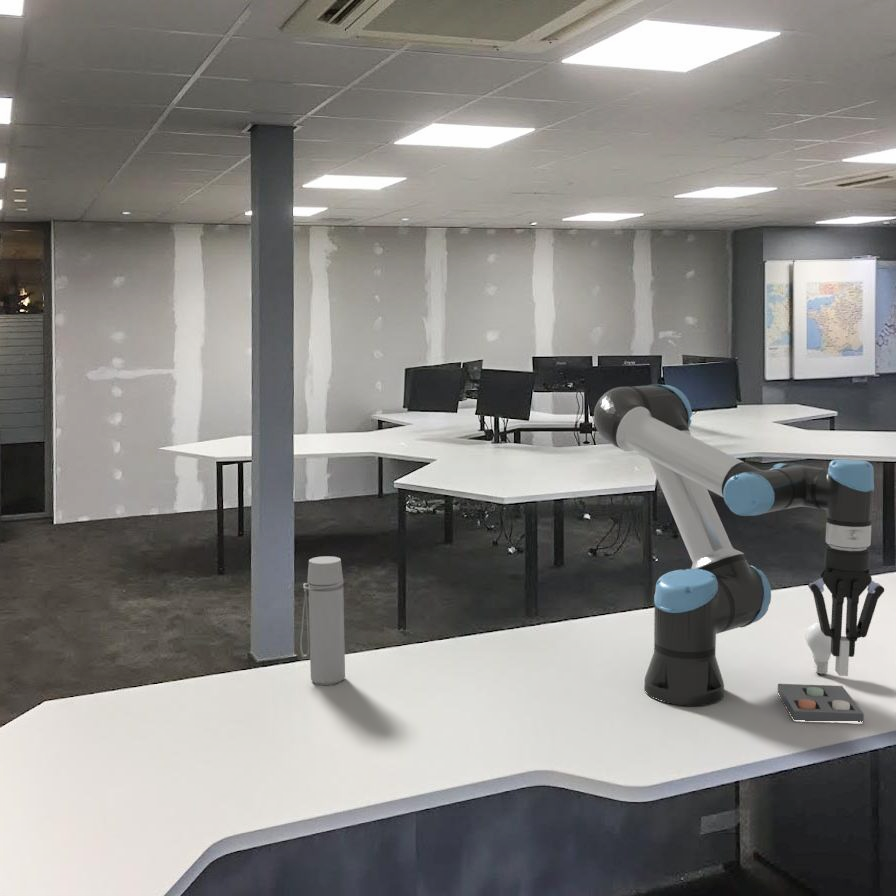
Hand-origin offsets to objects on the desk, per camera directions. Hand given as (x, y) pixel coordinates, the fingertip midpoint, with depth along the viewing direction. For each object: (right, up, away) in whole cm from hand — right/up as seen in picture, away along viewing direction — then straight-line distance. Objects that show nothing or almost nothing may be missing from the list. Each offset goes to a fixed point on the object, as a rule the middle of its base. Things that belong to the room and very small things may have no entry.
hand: (841, 673), depth 180 cm
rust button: (-6, -8, +2) cm, 10 cm away
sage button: (-2, -7, +8) cm, 10 cm away
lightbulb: (+5, -6, +23) cm, 24 cm away
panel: (-2, -8, +5) cm, 9 cm away
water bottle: (-97, -7, +22) cm, 100 cm away
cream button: (0, -8, +1) cm, 8 cm away
